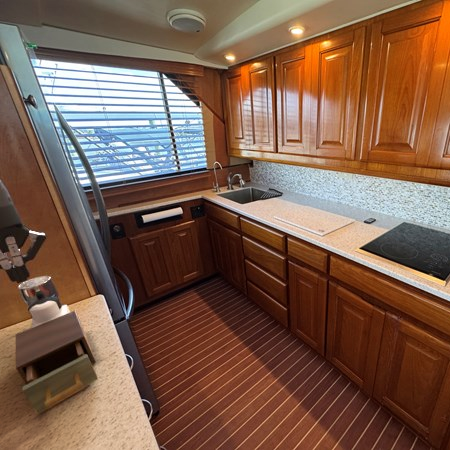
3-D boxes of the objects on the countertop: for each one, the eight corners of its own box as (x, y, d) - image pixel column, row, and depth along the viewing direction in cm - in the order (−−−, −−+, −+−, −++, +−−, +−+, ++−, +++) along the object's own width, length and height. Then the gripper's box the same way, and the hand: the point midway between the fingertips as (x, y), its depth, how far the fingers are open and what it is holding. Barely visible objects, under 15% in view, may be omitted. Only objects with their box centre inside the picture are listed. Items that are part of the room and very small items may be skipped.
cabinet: (96, 362, 61) (84, 335, 58) (33, 396, 53) (15, 367, 50) (85, 334, 70) (75, 310, 67) (30, 360, 62) (15, 334, 59)
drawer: (103, 393, 53) (92, 370, 50) (39, 432, 46) (22, 408, 43) (87, 349, 64) (78, 328, 61) (34, 375, 57) (21, 353, 54)
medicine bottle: (43, 334, 70) (25, 301, 66) (75, 322, 75) (60, 290, 70) (40, 349, 65) (21, 314, 61) (75, 335, 70) (59, 301, 65)
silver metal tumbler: (68, 311, 79) (51, 272, 74) (69, 322, 75) (51, 281, 69) (39, 322, 75) (18, 282, 69) (38, 334, 70) (15, 292, 65)
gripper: (31, 195, 53) (61, 263, 59) (-72, 209, 44) (-25, 288, 50) (33, 201, 48) (65, 274, 55) (-83, 218, 39) (-29, 303, 45)
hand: (22, 280), depth 52 cm, fingers closed
